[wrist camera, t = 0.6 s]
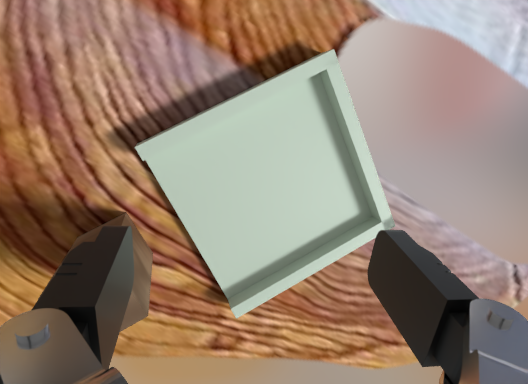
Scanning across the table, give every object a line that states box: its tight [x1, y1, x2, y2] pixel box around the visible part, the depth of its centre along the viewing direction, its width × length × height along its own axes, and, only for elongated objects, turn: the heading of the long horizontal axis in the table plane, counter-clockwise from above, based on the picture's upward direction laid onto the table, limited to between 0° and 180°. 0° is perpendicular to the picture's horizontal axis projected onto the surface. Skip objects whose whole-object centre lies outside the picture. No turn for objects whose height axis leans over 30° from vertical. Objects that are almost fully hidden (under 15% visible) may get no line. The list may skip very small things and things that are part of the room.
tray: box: [135, 49, 395, 318], centre depth 32 cm, size 18×18×2 cm
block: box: [38, 213, 153, 331], centre depth 26 cm, size 4×4×10 cm
